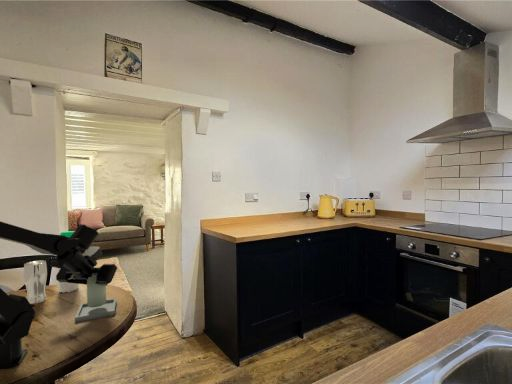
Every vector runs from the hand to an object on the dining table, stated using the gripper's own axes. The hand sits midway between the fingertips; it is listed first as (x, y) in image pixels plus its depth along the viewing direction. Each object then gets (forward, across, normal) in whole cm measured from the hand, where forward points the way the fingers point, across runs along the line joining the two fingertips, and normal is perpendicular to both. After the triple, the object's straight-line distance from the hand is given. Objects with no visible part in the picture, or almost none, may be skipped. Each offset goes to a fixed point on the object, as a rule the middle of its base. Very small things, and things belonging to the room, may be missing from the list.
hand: (99, 283), depth 98 cm
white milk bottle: (+18, +25, -5) cm, 31 cm away
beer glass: (+10, +29, +4) cm, 31 cm away
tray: (+5, 0, +8) cm, 9 cm away
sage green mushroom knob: (+4, 0, +6) cm, 7 cm away
